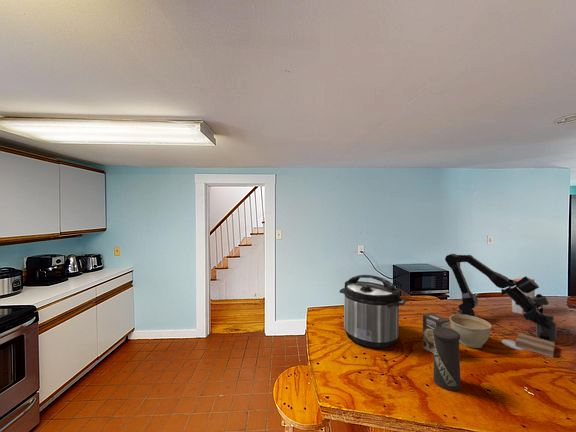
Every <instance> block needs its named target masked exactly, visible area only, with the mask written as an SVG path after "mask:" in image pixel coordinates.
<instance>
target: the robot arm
mask: <svg viewBox="0 0 576 432" xmlns="http://www.w3.org/2000/svg"><path fill="white" fill-rule="evenodd" d="M444 260H445V263H446V264H447V266H448V267H449V268H450V269H451V271H452V272H453V275H454V277H455V278H454V279H455V280H456V283H457V285H458V287H459V290H460V292H461V300H462V303H460V304H459V305H458V309H459V314H458V315H468V316H474V317H476V316H475V315H476V314H475V310H474V308H475V307H476V306H478V304H479V303H478V301H479V299H478V298H477V295H476V293H473V292H471V290H470V287H469V285H468V283H467V280H466V278H465V276H464V273H463V271H462V268H461V263H468V264H469V265H471V266H472V267H473V268H475V269H476V270H477V271H480V273H482V274H483V275H484V276H485V277H487V278H488V279H489V281H491V283H493V285H495V287H497V288H499V289H501V291H500V292H501V296H504V295H505V294H506V296H508V297H509V298H510V299H511V300H512V299H513V300H514V301H515V302H516V303H515V304H516V305H519V306H520V307H521V308H522V309H523V311H524V314H523V315H522V316H523V318H524V319H525V320H526V321H530V322H533V323H535V324H536V323H537V324H539V325H541V326H543V327H545V328H547V329H551V327H550V326H549V325H548V324H547V323H546V321H545V320H544V319H543V318H542V313H545V312H544V306H548V305H549V300H548V298H547V296H546V295H542V294H541V293H537V294H535V297H534V298H530V297H529V296H526V295H524V294H523V293H525V292H526V293H530V292H532V291H534V290H535V291H536V290H538V289H539V288H540V286H539V285H538V283H536V282H535V280H534V281H532V280H531V279H532V278H530V277H527V276H526V275H525V276H523V277H521V278H522V279H521V280H519V281H515V280H513V279H510V278H508V277H507V276H505V275H503V274H501V273H499V272H497V271H494V270H493V269H491V268H490V267H488V266H487V265H486V264H484V263H482V262H481V261H480V260H478V259H476V258H475V257H474V256H473V255H472V254H455V253H450V254H447V255H446V256H445V258H444ZM529 278H530V279H529ZM515 285H516V286H515ZM513 286H515V287H513ZM511 287H513V288H511ZM521 291H522V292H523V293H522V292H521Z"/></svg>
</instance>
